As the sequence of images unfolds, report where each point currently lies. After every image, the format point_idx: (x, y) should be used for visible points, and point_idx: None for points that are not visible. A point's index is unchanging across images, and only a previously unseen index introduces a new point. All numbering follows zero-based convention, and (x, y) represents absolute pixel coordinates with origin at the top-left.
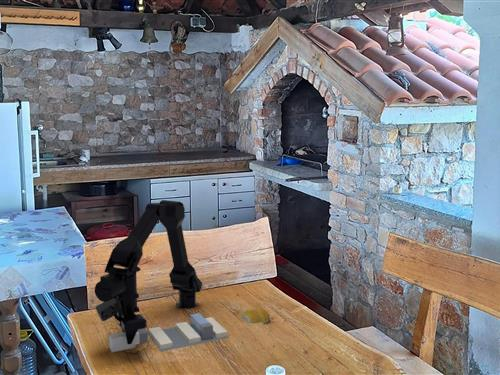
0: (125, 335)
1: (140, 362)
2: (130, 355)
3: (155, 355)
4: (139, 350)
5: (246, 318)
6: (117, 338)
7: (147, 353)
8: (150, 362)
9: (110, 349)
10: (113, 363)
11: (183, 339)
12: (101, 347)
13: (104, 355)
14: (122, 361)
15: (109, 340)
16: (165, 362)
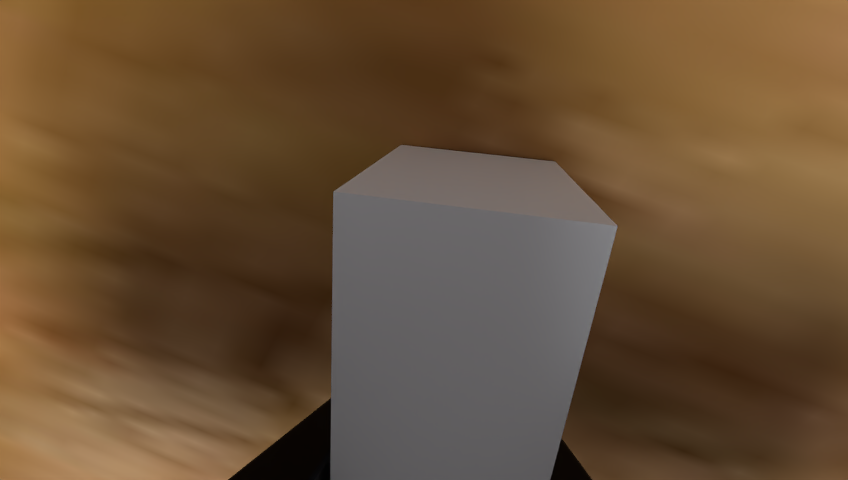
0: (365, 477)
1: (46, 318)
2: (225, 301)
3: (148, 469)
4: (302, 414)
5: None
6: (336, 316)
7: (209, 439)
8: (29, 385)
9: (487, 154)
10: (84, 52)
11: None
12: (657, 55)
13: (357, 10)
14: (109, 172)
15: (555, 187)
16: (8, 468)
